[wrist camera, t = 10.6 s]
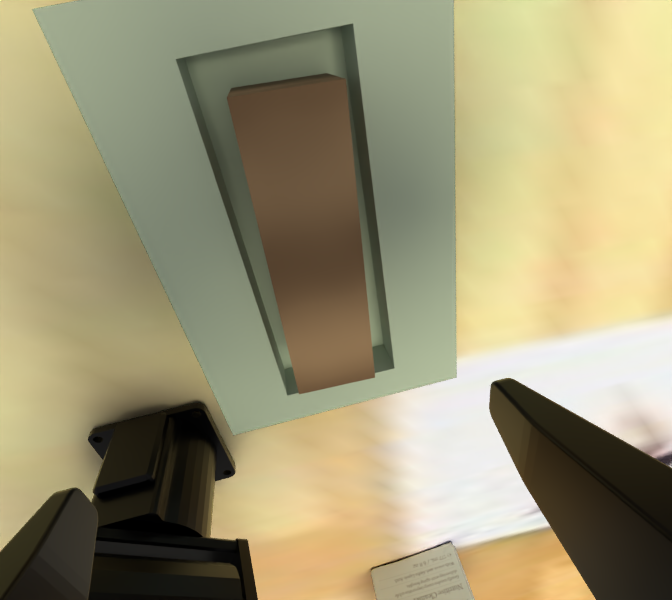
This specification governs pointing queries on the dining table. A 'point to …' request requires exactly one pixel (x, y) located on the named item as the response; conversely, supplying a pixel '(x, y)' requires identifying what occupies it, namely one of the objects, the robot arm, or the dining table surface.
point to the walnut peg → (308, 222)
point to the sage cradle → (231, 184)
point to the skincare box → (423, 577)
